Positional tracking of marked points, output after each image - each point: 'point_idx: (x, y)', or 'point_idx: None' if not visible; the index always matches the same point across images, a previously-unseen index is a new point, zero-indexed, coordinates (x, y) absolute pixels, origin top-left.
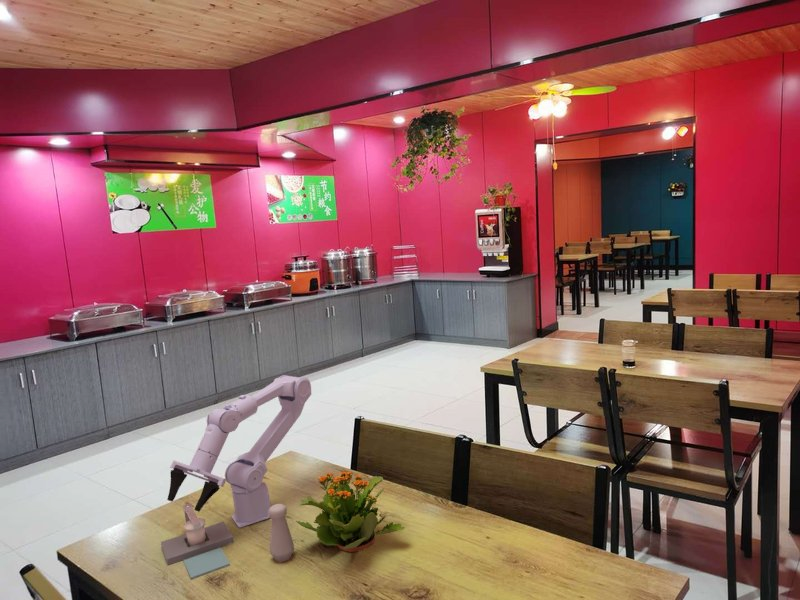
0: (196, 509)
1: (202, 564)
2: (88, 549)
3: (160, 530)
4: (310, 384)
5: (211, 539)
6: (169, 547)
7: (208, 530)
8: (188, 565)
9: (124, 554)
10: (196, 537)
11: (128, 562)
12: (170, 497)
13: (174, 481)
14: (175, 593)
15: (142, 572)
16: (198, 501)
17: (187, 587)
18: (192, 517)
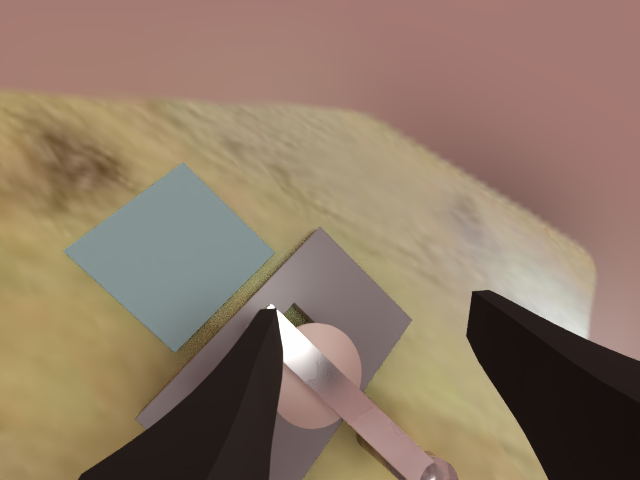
0: (261, 312)
1: (185, 235)
2: (567, 278)
3: (475, 413)
4: None
5: None
6: (360, 292)
7: (289, 438)
8: (236, 226)
9: (472, 269)
10: None
11: (434, 234)
12: (484, 299)
13: (604, 369)
14: (192, 101)
15: (363, 193)
16: (259, 339)
17: (169, 126)
18: (331, 376)
